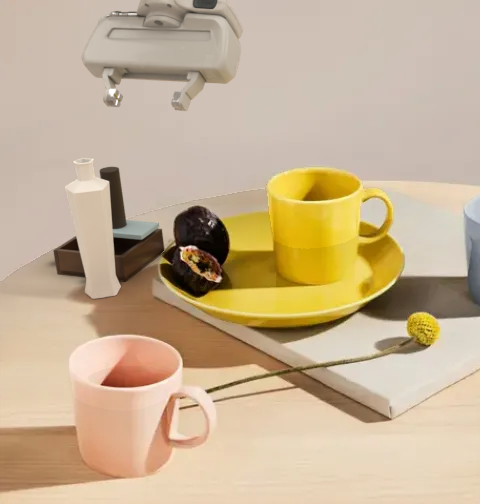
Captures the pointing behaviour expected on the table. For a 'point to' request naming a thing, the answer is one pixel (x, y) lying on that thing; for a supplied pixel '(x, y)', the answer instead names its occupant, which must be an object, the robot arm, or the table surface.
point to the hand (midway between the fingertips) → (144, 106)
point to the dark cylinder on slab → (123, 210)
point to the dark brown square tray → (125, 253)
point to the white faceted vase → (93, 229)
